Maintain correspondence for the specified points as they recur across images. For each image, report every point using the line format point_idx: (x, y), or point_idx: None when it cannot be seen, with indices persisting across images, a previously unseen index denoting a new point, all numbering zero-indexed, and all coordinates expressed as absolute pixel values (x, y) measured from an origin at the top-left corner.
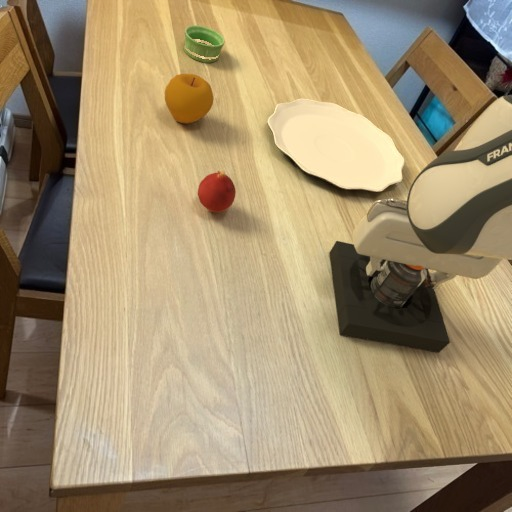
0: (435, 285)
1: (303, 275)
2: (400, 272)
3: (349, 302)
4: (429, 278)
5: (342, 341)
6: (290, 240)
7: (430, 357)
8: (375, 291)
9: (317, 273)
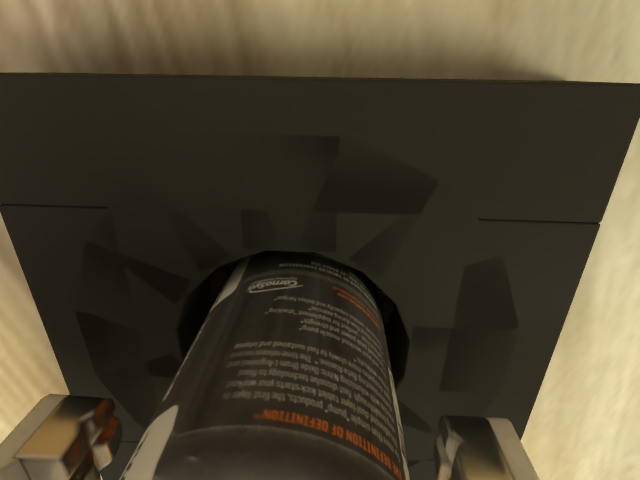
0: (34, 427)
1: (618, 352)
2: None
3: (567, 242)
4: (79, 468)
5: (569, 44)
6: (605, 466)
7: (86, 34)
8: (382, 328)
9: (551, 368)
